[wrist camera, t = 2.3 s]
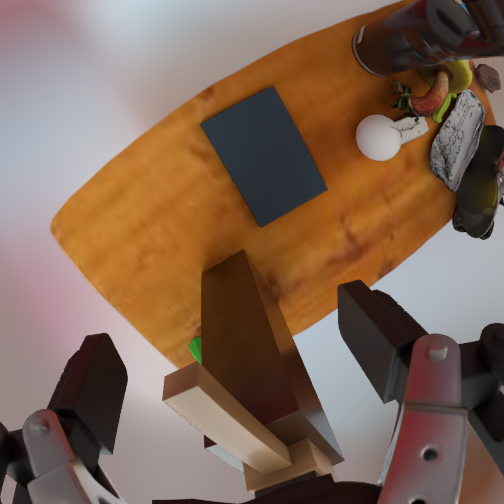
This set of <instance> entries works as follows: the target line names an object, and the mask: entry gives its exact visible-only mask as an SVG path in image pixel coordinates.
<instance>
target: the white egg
mask: <svg viewBox="0 0 504 504" xmlns="http://www.w3.org/2000/svg"><path fill="white" fill-rule="evenodd" d="M401 138H402V134H401V132H400V131H399V128H398V127H397V125H396V124H395V123H394V122H393V121H392V120H391V119H389V118H387V117H385V116H383V115H371V116H368V117H366V118H364V119H363V120H362V121H361V122H360V123H359V125H358V128H357V130H356V141H357V144H358V147H359V149H360V150H361V152H362V153H363V154H364V155H365V156H367V157H368V158H370V159H372V160H377V161H385V160H388V159H390V158H392V157H393V156H395V154H396V153H397V152H398V151H399V149H400V146H401Z"/></svg>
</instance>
